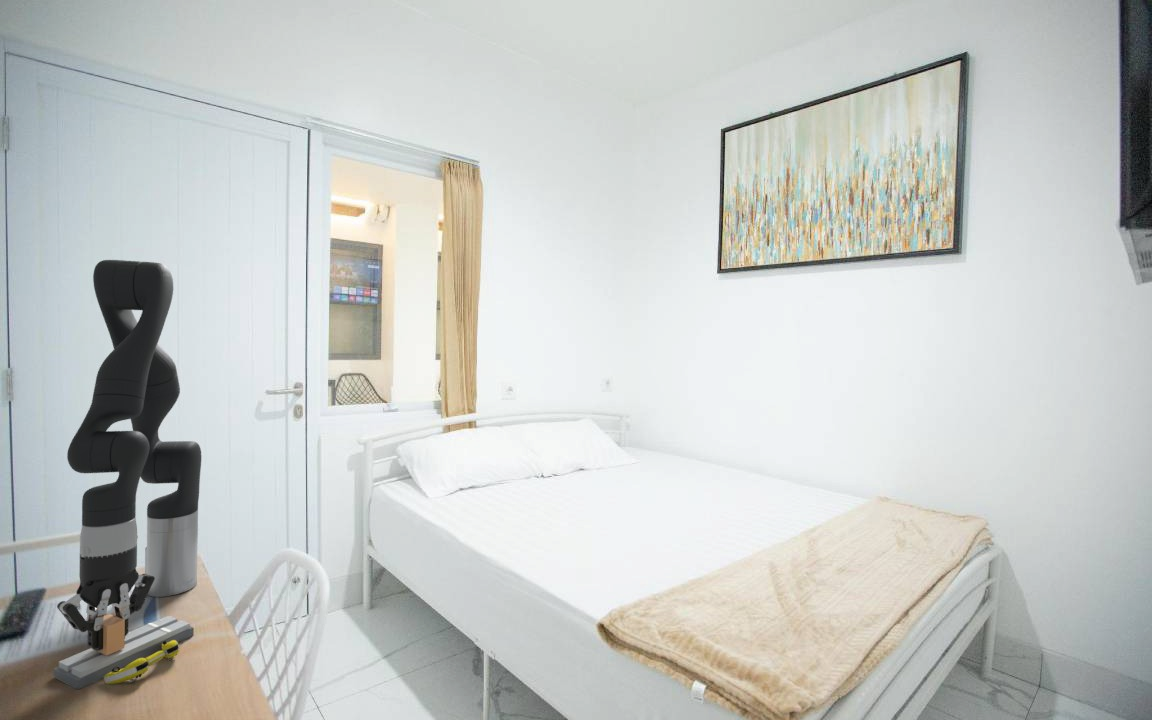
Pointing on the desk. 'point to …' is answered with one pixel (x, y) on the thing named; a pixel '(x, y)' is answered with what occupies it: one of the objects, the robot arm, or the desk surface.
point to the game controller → (142, 664)
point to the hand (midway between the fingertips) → (108, 643)
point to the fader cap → (113, 634)
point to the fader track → (121, 652)
